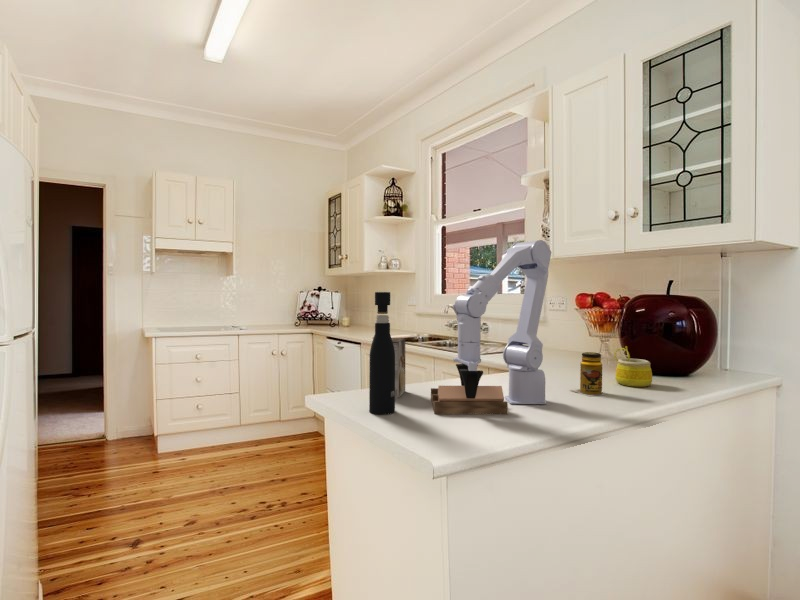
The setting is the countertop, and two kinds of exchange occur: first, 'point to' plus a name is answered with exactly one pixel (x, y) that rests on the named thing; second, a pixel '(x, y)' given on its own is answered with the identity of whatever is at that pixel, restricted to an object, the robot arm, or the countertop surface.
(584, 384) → the condiment
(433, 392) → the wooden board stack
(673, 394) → the countertop surface
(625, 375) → the yellow round container
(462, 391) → the clay strip
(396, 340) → the coffee box
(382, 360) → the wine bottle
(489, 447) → the countertop surface
